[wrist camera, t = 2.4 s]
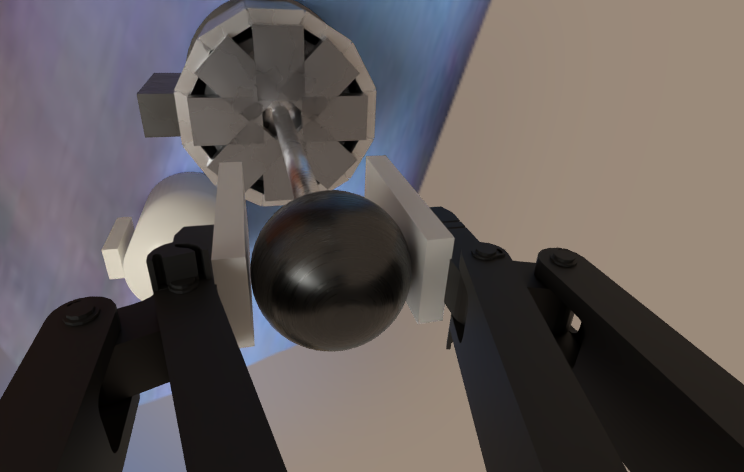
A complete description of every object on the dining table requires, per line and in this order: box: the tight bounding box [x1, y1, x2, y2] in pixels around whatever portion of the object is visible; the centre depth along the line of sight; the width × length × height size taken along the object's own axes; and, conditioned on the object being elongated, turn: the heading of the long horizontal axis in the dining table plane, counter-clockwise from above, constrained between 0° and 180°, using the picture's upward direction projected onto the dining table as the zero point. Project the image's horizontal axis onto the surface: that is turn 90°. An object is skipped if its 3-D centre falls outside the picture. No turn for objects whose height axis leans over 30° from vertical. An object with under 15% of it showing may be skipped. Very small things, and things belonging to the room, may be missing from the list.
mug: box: [102, 172, 217, 301], centre depth 36 cm, size 8×9×9 cm
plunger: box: [204, 37, 412, 351], centre depth 20 cm, size 9×9×20 cm
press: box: [137, 0, 376, 206], centre depth 31 cm, size 12×14×12 cm
